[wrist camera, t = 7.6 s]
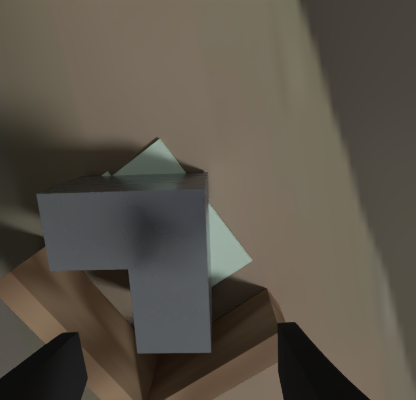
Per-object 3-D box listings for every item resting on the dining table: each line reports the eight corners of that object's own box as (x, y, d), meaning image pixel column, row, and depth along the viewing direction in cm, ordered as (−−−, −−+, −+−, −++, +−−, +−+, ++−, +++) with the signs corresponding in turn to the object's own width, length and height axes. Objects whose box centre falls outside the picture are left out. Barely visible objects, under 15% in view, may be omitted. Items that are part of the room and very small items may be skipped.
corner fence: (37, 253, 21) (-11, 287, 16) (165, 155, 19) (149, 164, 14) (155, 380, 23) (140, 440, 19) (279, 305, 21) (295, 351, 17)
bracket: (212, 299, 21) (211, 352, 16) (99, 301, 21) (65, 354, 16) (207, 172, 19) (204, 189, 14) (82, 176, 19) (36, 193, 14)
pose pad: (251, 259, 20) (252, 260, 20) (151, 324, 22) (151, 326, 22) (156, 133, 18) (155, 133, 18) (53, 213, 20) (52, 214, 20)
